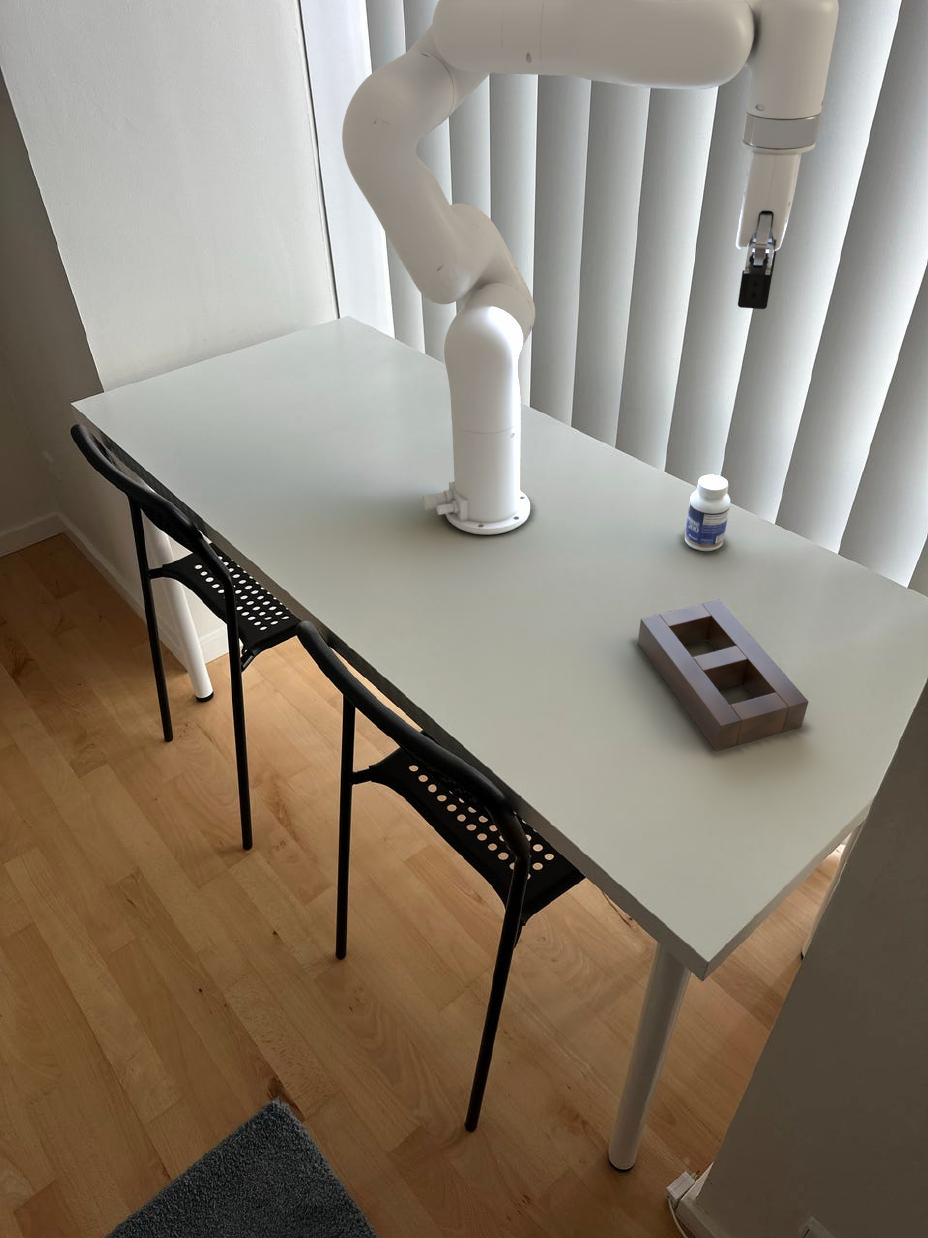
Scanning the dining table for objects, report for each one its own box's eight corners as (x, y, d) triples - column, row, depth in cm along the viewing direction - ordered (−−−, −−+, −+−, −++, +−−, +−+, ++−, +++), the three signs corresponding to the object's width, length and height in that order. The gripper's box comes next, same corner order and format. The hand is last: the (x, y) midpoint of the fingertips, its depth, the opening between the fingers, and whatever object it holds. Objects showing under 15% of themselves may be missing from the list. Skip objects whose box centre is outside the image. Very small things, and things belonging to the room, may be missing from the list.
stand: (715, 751, 104) (721, 726, 101) (637, 643, 118) (640, 618, 115) (801, 727, 106) (809, 701, 103) (714, 623, 120) (719, 599, 117)
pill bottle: (679, 531, 136) (688, 472, 129) (716, 529, 136) (726, 470, 130) (689, 553, 132) (699, 494, 125) (727, 550, 132) (738, 491, 126)
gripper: (749, 111, 107) (729, 263, 118) (736, 150, 94) (714, 317, 105) (819, 112, 105) (792, 267, 116) (815, 153, 93) (784, 323, 103)
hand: (755, 291), depth 111 cm, fingers open, 9 cm apart
